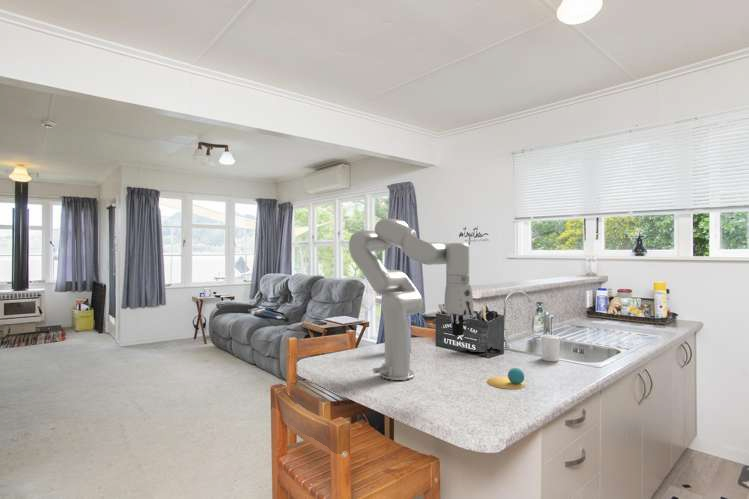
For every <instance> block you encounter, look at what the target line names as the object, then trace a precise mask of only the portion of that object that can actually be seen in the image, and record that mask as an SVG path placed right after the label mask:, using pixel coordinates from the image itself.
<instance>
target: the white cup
mask: <svg viewBox="0 0 749 499" xmlns="http://www.w3.org/2000/svg"><path fill="white" fill-rule="evenodd" d="M539 338H540V352H541V359H542V360H543V361H546V362H559V360H560V351H561V350H560V346H561V336H559V335H556V334H548V333H547V334H540V336H539Z"/></svg>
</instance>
